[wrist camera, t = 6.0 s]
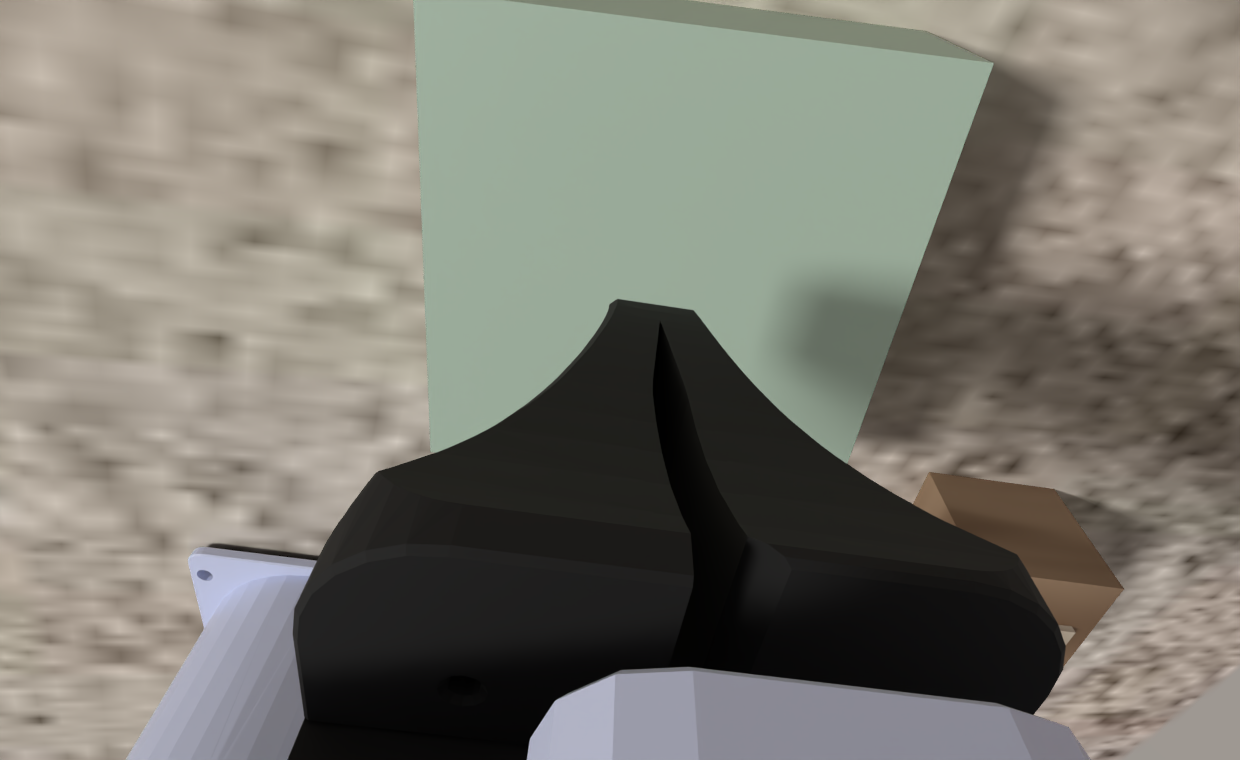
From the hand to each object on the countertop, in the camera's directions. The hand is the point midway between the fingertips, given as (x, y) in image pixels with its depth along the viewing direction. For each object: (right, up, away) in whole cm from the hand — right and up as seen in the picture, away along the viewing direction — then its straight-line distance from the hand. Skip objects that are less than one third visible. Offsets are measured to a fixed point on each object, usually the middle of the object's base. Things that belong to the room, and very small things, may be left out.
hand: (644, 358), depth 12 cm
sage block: (+1, +4, +7) cm, 8 cm away
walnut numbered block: (+11, -5, +12) cm, 17 cm away
